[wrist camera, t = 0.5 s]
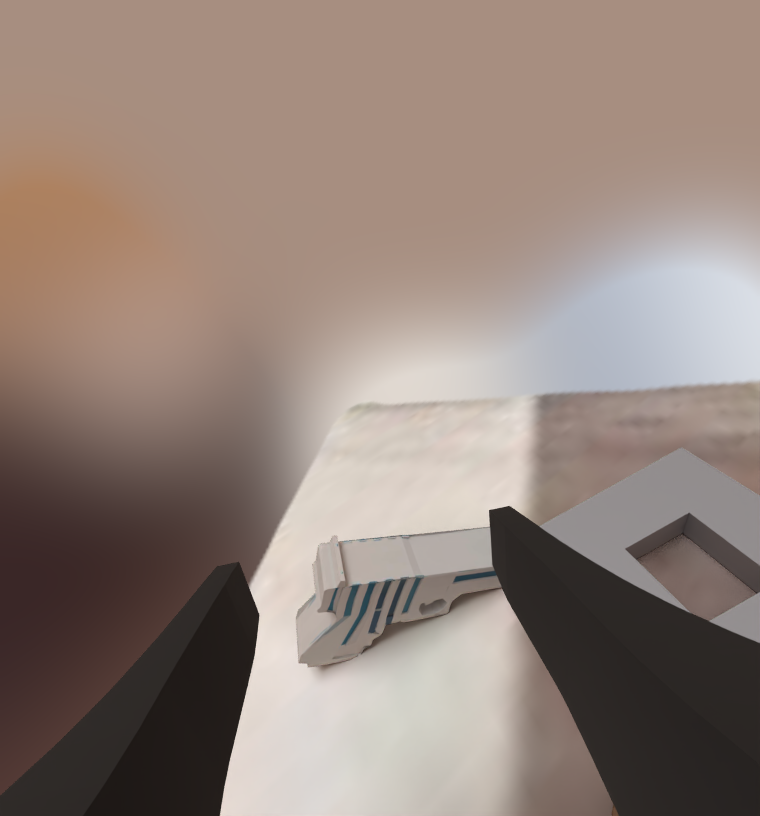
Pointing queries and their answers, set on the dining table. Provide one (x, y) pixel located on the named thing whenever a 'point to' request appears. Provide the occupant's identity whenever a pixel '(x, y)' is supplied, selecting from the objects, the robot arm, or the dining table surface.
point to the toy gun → (387, 587)
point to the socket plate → (672, 527)
